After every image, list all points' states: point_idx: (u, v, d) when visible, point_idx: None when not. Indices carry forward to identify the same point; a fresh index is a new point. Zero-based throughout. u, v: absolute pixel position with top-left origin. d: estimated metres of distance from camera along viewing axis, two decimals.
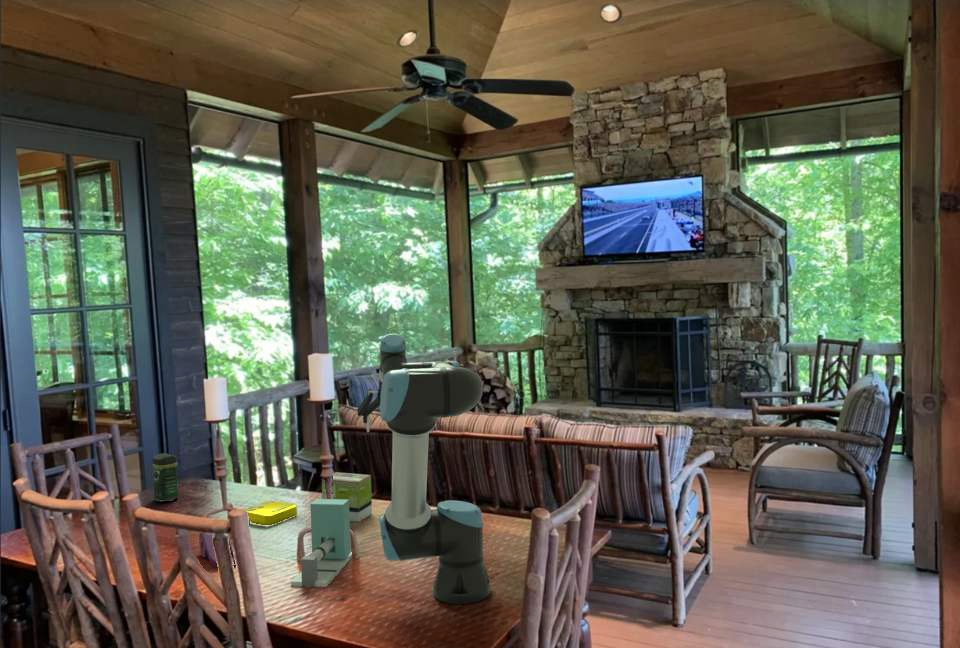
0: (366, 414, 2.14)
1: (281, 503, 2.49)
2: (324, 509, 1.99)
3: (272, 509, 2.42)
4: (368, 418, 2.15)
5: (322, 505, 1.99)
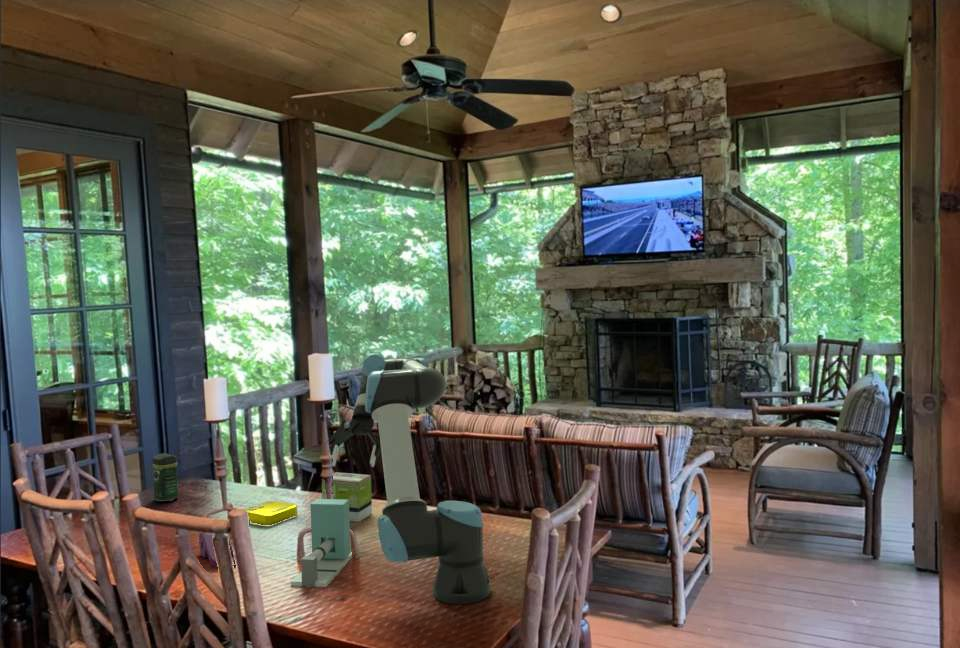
0: (335, 441, 2.26)
1: (281, 503, 2.50)
2: (324, 509, 1.99)
3: (272, 509, 2.43)
4: (335, 445, 2.25)
5: (322, 505, 1.99)
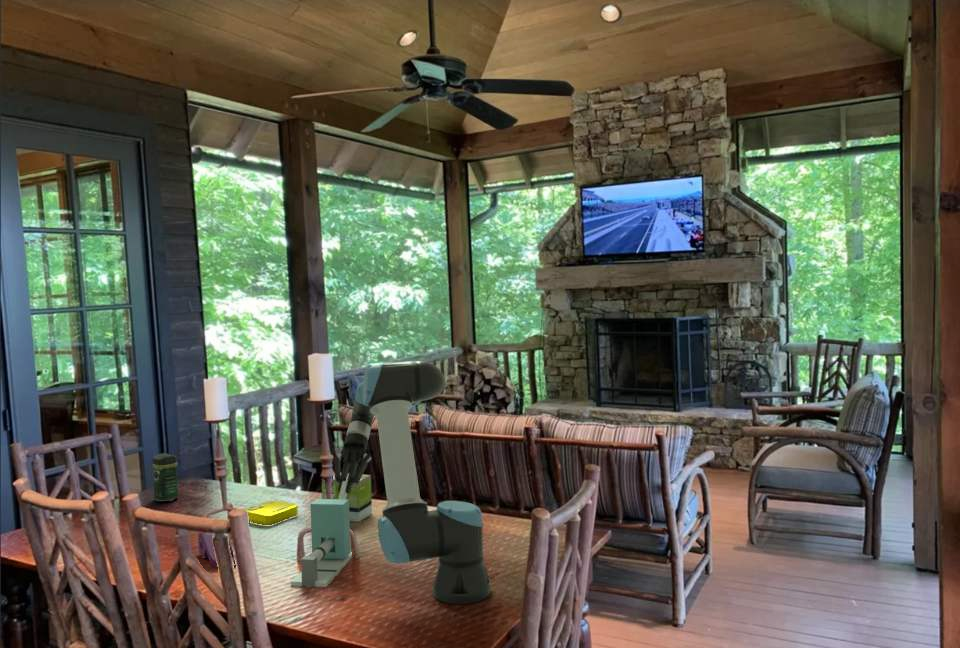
0: (341, 477, 2.17)
1: (282, 503, 2.50)
2: (324, 509, 1.99)
3: (273, 509, 2.43)
4: (343, 482, 2.15)
5: (322, 505, 1.99)
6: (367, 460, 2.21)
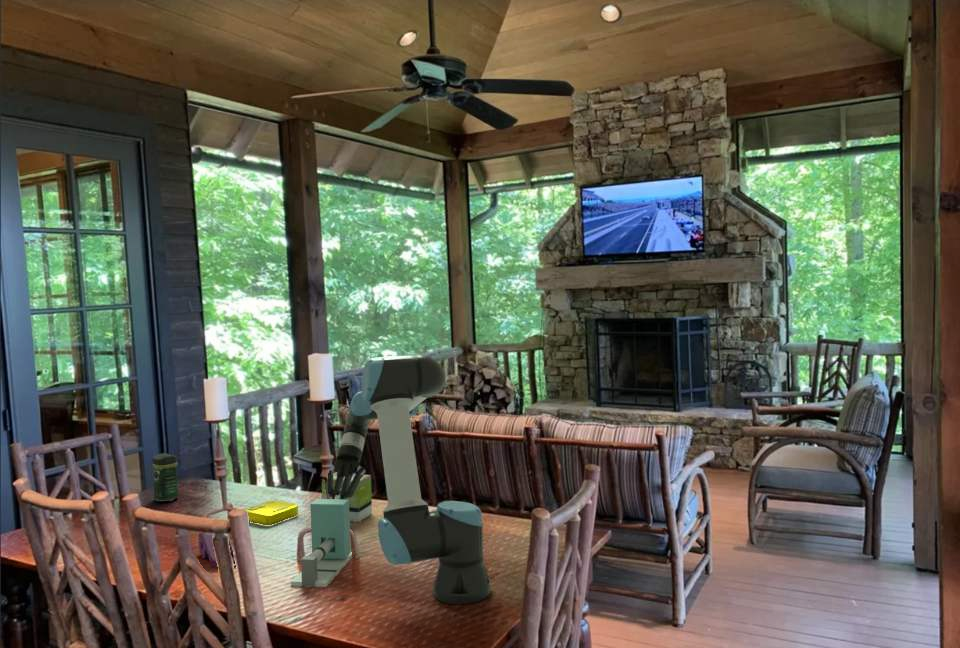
0: (334, 491, 2.10)
1: (282, 503, 2.50)
2: (324, 509, 1.99)
3: (273, 509, 2.43)
4: (336, 496, 2.08)
5: (322, 505, 1.99)
6: (361, 473, 2.14)
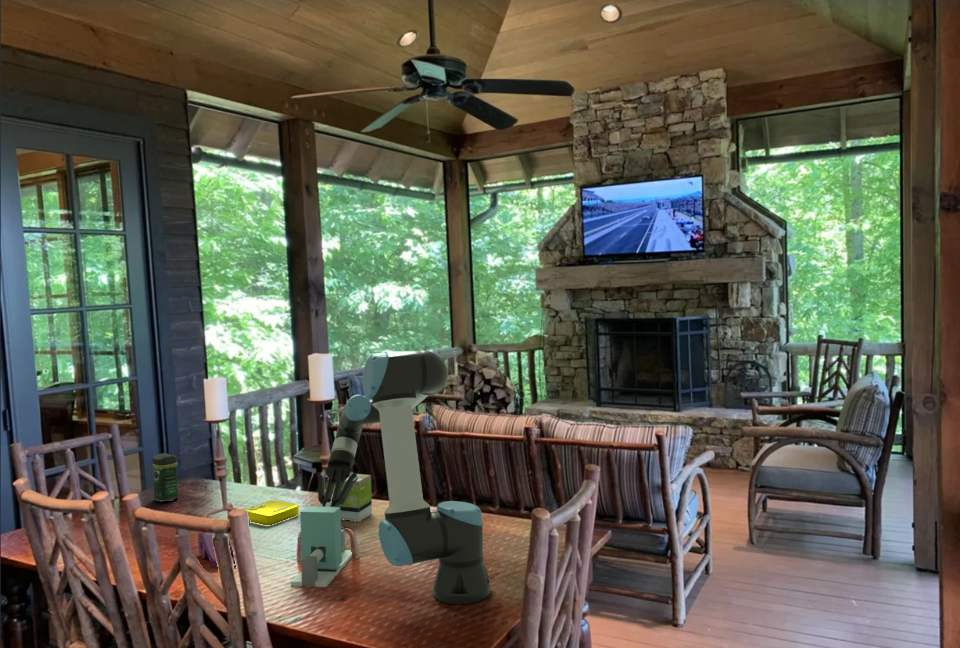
0: (325, 498, 2.02)
1: (283, 503, 2.50)
2: (314, 517, 1.92)
3: (273, 509, 2.43)
4: (327, 503, 2.01)
5: (312, 513, 1.92)
6: (353, 479, 2.07)
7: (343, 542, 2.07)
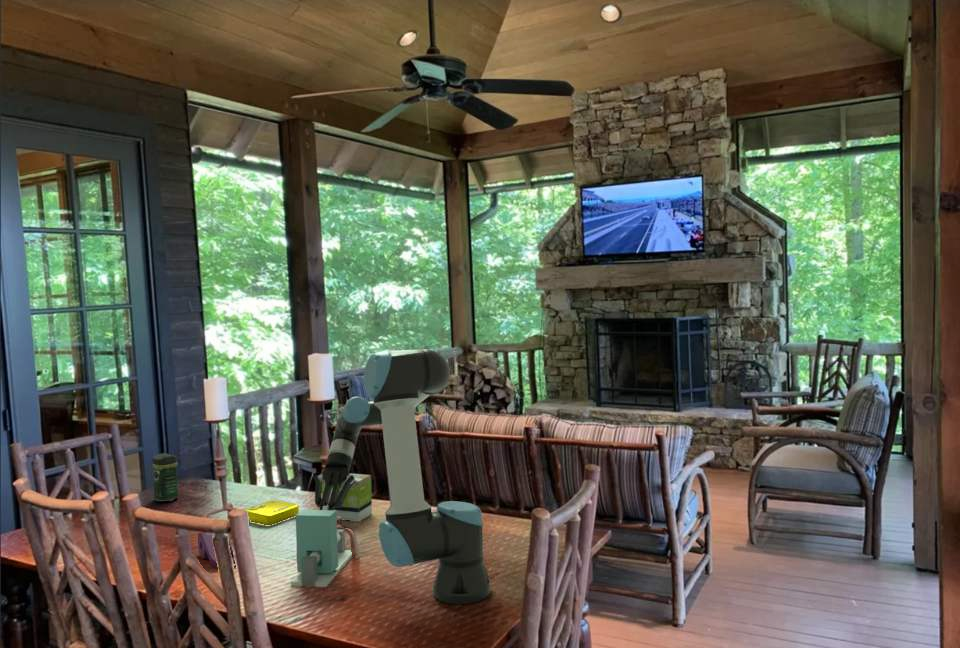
0: (322, 501, 1.99)
1: (283, 503, 2.50)
2: (310, 521, 1.88)
3: (273, 509, 2.43)
4: (324, 507, 1.98)
5: (308, 516, 1.88)
6: (350, 482, 2.03)
7: (343, 542, 2.07)
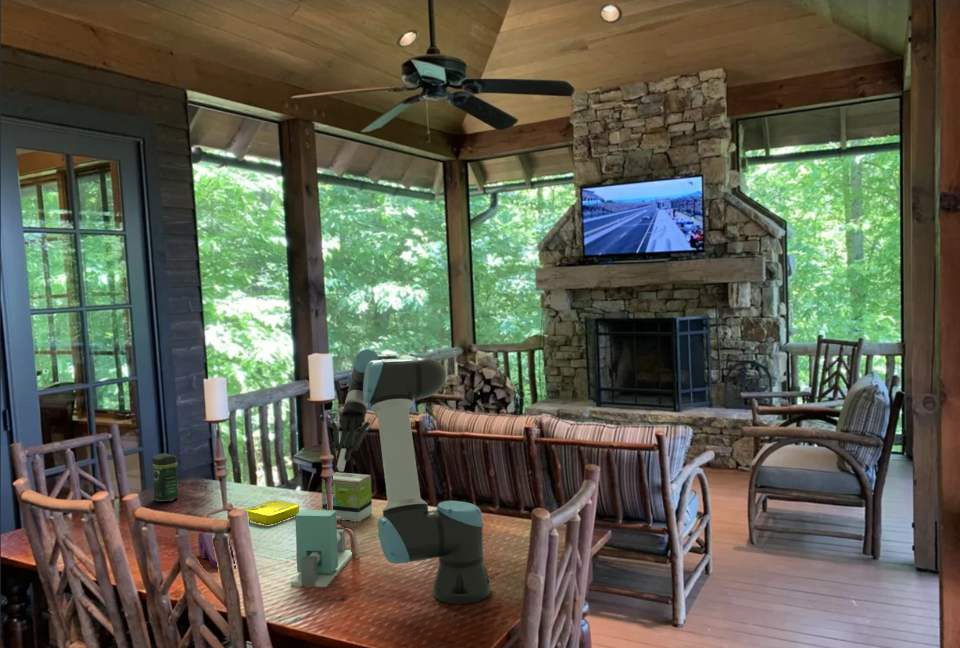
0: (340, 445, 2.15)
1: (284, 503, 2.50)
2: (310, 521, 1.88)
3: (274, 508, 2.43)
4: (342, 449, 2.14)
5: (308, 517, 1.88)
6: (366, 428, 2.19)
7: (343, 542, 2.07)
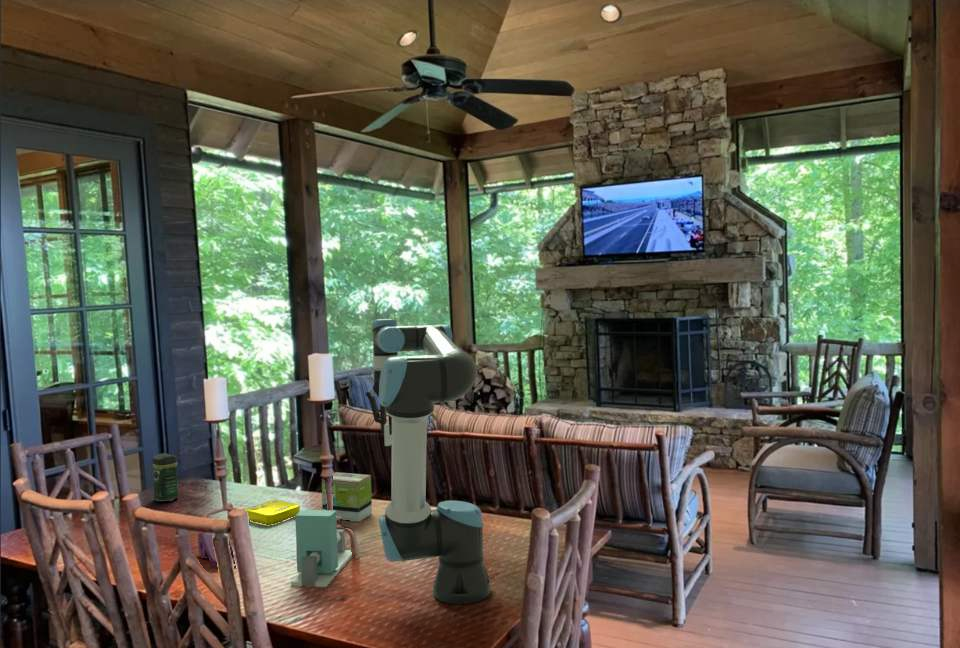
0: (381, 420, 2.09)
1: (284, 502, 2.50)
2: (310, 521, 1.88)
3: (274, 508, 2.43)
4: (385, 426, 2.09)
5: (308, 517, 1.88)
6: None
7: (343, 542, 2.07)
